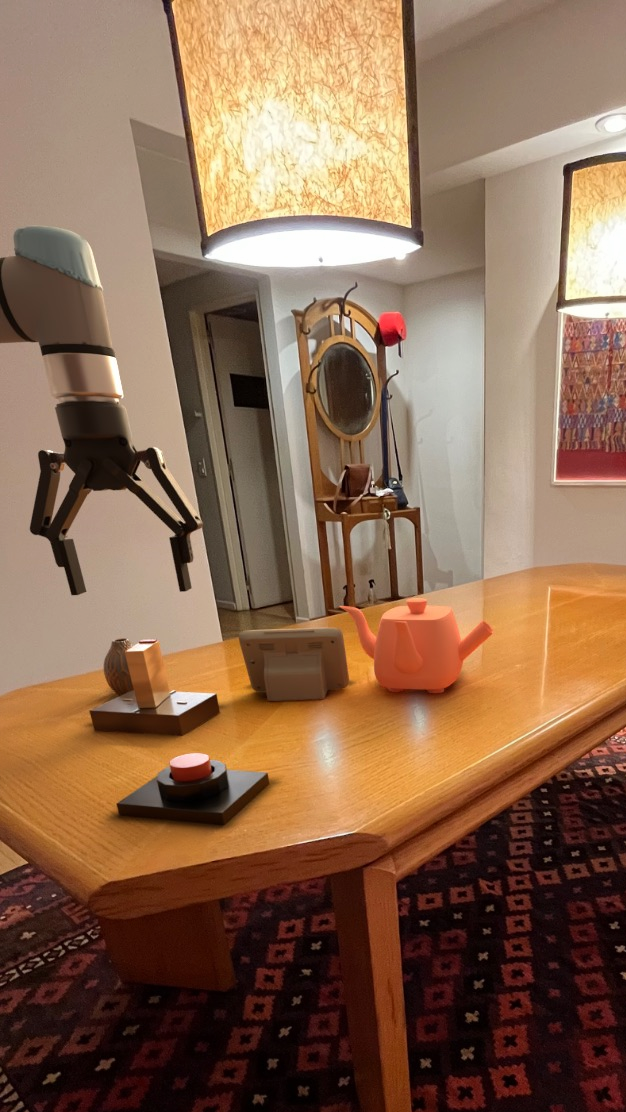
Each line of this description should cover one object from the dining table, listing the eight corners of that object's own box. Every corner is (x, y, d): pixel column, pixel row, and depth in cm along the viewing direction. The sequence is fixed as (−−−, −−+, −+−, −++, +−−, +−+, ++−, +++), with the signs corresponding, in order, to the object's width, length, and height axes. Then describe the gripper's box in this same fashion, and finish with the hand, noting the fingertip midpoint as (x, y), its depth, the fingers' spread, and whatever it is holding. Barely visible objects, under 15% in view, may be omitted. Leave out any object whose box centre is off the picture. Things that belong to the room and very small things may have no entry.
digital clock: (354, 686, 112) (349, 621, 107) (338, 703, 104) (331, 634, 99) (262, 684, 114) (252, 621, 109) (239, 701, 106) (228, 633, 101)
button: (164, 781, 70) (161, 766, 69) (186, 766, 74) (183, 751, 73) (199, 784, 69) (196, 768, 68) (219, 769, 73) (216, 754, 72)
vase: (131, 685, 115) (119, 634, 111) (164, 688, 113) (152, 636, 109) (100, 697, 110) (86, 643, 106) (134, 700, 107) (121, 646, 103)
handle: (155, 707, 94) (142, 649, 91) (137, 708, 94) (123, 649, 90) (170, 694, 100) (158, 639, 96) (153, 695, 100) (140, 639, 96)
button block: (120, 822, 70) (111, 787, 68) (176, 782, 79) (169, 750, 77) (225, 832, 67) (218, 796, 66) (270, 790, 76) (265, 757, 74)
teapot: (402, 709, 100) (397, 615, 94) (345, 682, 114) (337, 598, 108) (497, 686, 110) (498, 599, 104) (434, 664, 123) (431, 585, 117)
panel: (93, 730, 95) (88, 709, 94) (138, 708, 104) (134, 688, 103) (182, 736, 92) (177, 714, 91) (220, 712, 101) (216, 692, 100)
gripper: (207, 402, 82) (236, 584, 91) (-4, 407, 81) (48, 590, 90) (189, 396, 75) (222, 593, 84) (-41, 401, 74) (19, 600, 83)
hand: (132, 592), depth 87 cm, fingers open, 13 cm apart
